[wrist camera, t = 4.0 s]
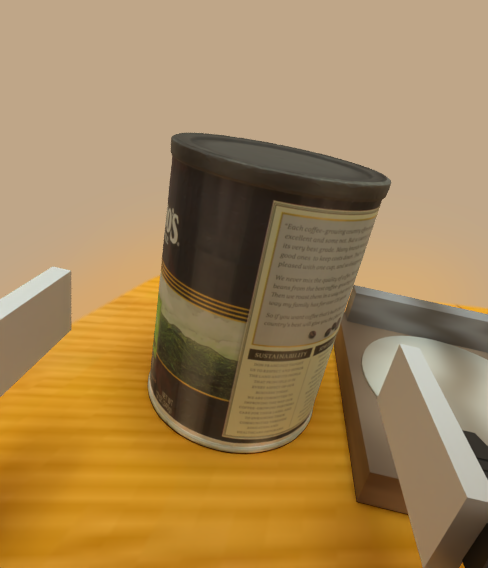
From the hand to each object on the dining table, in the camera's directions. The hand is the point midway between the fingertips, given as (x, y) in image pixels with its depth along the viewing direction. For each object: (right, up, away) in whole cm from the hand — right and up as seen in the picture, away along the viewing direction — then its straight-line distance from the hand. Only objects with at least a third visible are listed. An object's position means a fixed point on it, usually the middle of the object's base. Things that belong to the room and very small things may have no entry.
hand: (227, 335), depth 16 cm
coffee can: (0, -5, +9) cm, 10 cm away
